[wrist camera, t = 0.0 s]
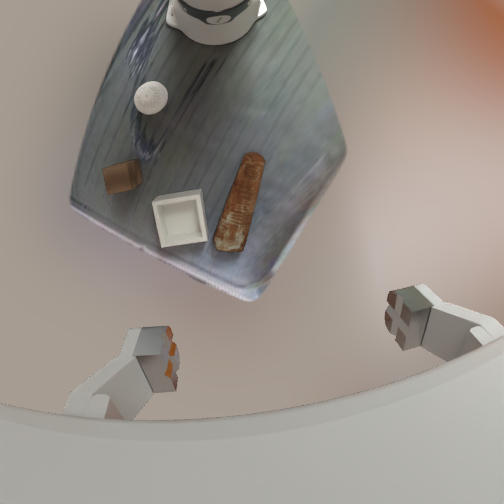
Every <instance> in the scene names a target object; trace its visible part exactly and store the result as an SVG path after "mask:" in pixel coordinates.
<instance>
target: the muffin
mask: <svg viewBox="0 0 504 504" xmlns="http://www.w3.org/2000/svg"><path fill="white" fill-rule="evenodd" d="M167 100H168V92H167V90H166V88H165V87H164V86H163V85H162V84H161V83H159V82H156V81H150V82H147V83H145V84H143V85H141V86H140V87H139V88H138V90H137V91H136V93H135V96H134V103H135V106H136V108H137V109H138V110H139V111H140V112H142V113H144V114H147V115H150V114H155V113H157V112H159V111H160V110H162V109H163V108H164V107H165V105H166V103H167Z"/></svg>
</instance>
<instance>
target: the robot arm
mask: <svg viewBox="0 0 504 504" xmlns="http://www.w3.org/2000/svg"><path fill="white" fill-rule="evenodd" d="M260 5H261V6H260ZM266 12H267V7H266V5H265V3H264V0H169V5H168V11H167V17H166V22H167V24H168V25H169V26H171V27H174V28H177V29H180V30H181V31H182V32H183V33H184V34H185V35H186V36H188V37H189V38H190V39H192V40H194V41H196V42H199V43H202V44H206V45H222V44H227V43H230V42H233V41H235V40H237V39H239V38H240V37H242V36H243V35H244V34H246V33H247V32H248V30H249V29H250V28H251V26H252V25H253V23H254V22H255V21H256V20H257V19H259V18H261V17H262V16H264V15H265V14H266ZM172 14H173V16H171V15H172ZM387 301H388V303H389V306H388V308H387V309H386V311H385V324H386V327H387V329H388V331H389V332H390V333H391V334H393V335H396V339H395V341H396V342H397V343H398V344H399V346H400V347H401V349H402V350H403V351H404V350H408V349H411V348H415V347H418V346H421V347H423V348H425V349H426V350H428V351H430V352H431V353H433V354H435V355H437V356H438V357H440V358H442V359H443V360H445V361H447V362H446V363H443V364H441V365H439V366H436V367H434V368H431V369H428V370H426V371H423V372H421V373H418V374H415V375H412V376H410V377H407V378H404V379H401V380H398V381H395V382H391V383H388V384H385V385H382V386H379V387H375V388H372V389H368V390H365V391H361V392H358V393H354V394H350V395H346V396H343V397H338V398H334V399H330V400H326V401H321V402H317V403H312V404H307V405H302V406H297V407H292V408H286V409H281V410H275V411H268V412H261V413H253V414H246V415H237V416H227V417H217V418H203V419H185V420H133V419H134V418H135V417H136V415H137V414H138V413H139V412H140V410H141V409H142V408H143V407H144V406H145V404H146V403H147V402H148V401H149V399H150V398H151V397H152V396H153V394H154V393H159V392H174V391H176V388H177V381H178V377H177V374H176V371H177V370H178V369H179V364H180V362H179V353H178V349H177V345H176V344H175V343H173V341H172V338H173V333H172V331H171V328H170V327H169V326H156V327H143V328H131V329H129V330H128V332H127V335H126V338H125V340H124V343H123V345H122V348H121V351H120V354H119V356H118V357H114V358H113V359H112V360H110V361H109V362H108V363H107V364H105V365H104V366H103V367H102V368H100V369H99V370H98V371H97V372H95V373H94V374H93V375H92V376H90V377H89V378H88V379H87V380H85V381H84V382H83V383H81V384H80V385H79V386H78V387H76V388H75V389H74V390H73V391H71V393H70V396H69V398H68V401H67V403H66V405H65V408H64V410H63V413H62V414H56V413H49V412H42V411H36V410H31V409H25V408H21V407H16V406H12V405H7V404H3V403H0V504H504V327H503V326H502V325H501V324H500V323H499V322H498V321H497V320H496V319H495V318H492V317H490V316H487V315H484V314H481V313H477V312H475V311H472V310H469V309H466V308H463V307H460V306H457V305H454V304H451V303H448V302H446V303H444V302H443V301H442V300H441V299H440V298H439V297H437V296H436V295H435V294H434V293H433V292H432V291H431V290H430V289H429V288H428V287H427V286H426V285H425V284H422V283H420V284H416V285H413V286H410V287H406V288H402V289H397V290H393V291H390V292H389V294H388V297H387Z"/></svg>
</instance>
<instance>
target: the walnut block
mask: <svg viewBox="0 0 504 504" xmlns="http://www.w3.org/2000/svg"><path fill="white" fill-rule="evenodd" d="M102 170H103V175H104V180H105V185H106V190H107V194H108V195H110V194H115V193H120V192H124V191H129V190H132V189H134V188H135V187H136V186H138V185H139V184H140V183H142V182H143V178H142V172H141V166H140V160H139V159H134V160H130V161H125V162H121V163H117V164H114V165H112V166H109V167H107V168H104V169H102Z"/></svg>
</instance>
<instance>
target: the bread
mask: <svg viewBox="0 0 504 504" xmlns="http://www.w3.org/2000/svg"><path fill="white" fill-rule="evenodd" d="M264 165H265V159H264V158H263V156H262V155H260V154H258V153H254V152H250V153H247V154H245V155H244V157H243V160H242V163H241V165H240V168H239V170H238V173H237V175H236V178H235V181H234V183H233V186H232V188H231V191H230V193H229V196H228V199H227V201H226V204H225V207H224V210H223V213H222V215H221V218H220V220H219V223H218V226H217V228H216V231H215V235H214V237H213V242H214V243H215V247H216V249H217V250H218V251H226V252H235V251H237V252H242V251H243V250H244V247H245V244H246V241H247V237H248V232H249V228H250V224H251V220H252V215H253V212H254V208H255V204H256V200H257V196H258V192H259V188H260V182H261V179H262V174H263V169H264Z"/></svg>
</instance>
